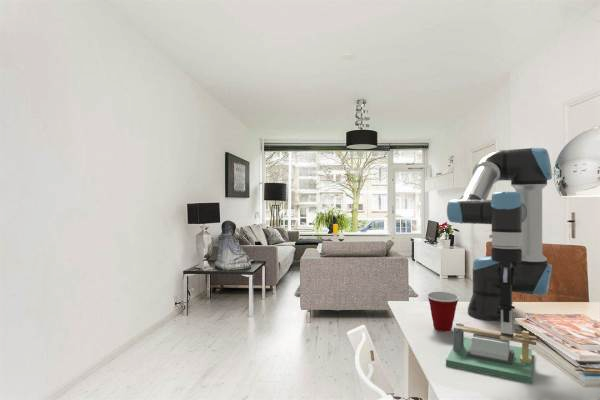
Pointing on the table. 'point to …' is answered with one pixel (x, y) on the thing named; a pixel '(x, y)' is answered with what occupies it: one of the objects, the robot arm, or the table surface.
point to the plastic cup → (443, 309)
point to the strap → (499, 335)
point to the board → (492, 366)
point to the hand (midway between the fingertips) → (506, 332)
